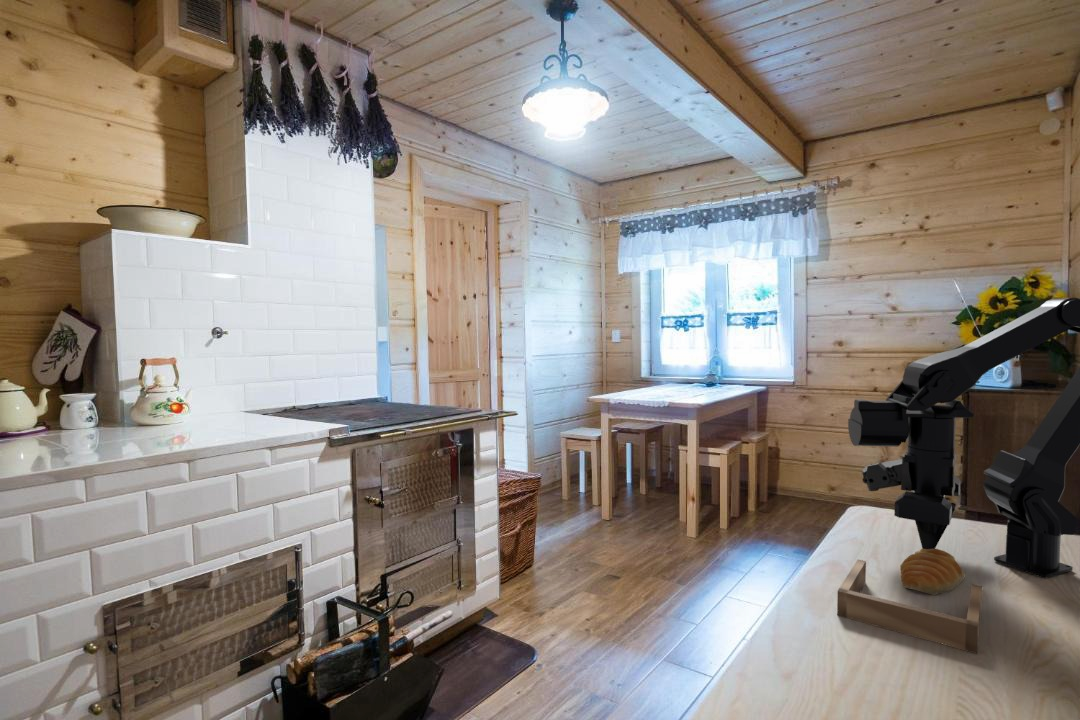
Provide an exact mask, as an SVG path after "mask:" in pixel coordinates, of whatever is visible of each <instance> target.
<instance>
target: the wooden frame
mask: <svg viewBox="0 0 1080 720" xmlns="http://www.w3.org/2000/svg"><path fill="white" fill-rule="evenodd" d="M866 571H867V561H866V560H863V559H856V561H855V563H854V564H853V566H852V568H851V569H850V570H849V572H848V574H847V575H846V577H845V578H844V580H843V582H842V583H841V585H840V586H839V588H838V590H837V599H836V602H837V603H836V604H837V608H836V609H837V612H836V613H837V616H840V617H843V618H847V619H850V620H853V621H859V622H861V623H865V624H868V625H873V626H876V627H879V628H882V627H883V629H886V628H887V630H890V631H893V630H894V632H897V631H898V633H901V634H904V635H908V636H912V637H915V638H919V639H923V640H926V641H929V640H930V642H933V641H934V643H937V642H938V643H937V644H940V643H943V644H942V645H944V644H946V645H945V646H947V645H949V646H948V647H951V646H952V648H955V649H959V650H962V651H966V652H969V653H973V654H978V645H979V636H980V627H981V620H982V611H983V609H982V608H983V607H982V606H983V586H982V585H979V584H978V585H977V584H974V583H973V584H971V590H970V596H969V602H968V607H967V615H966V618H961V617H958V616H955V615H954V616H953V615H951V614H945V613H941V612H938V611H933V610H929V609H926V608H922V607H917V606H914V605H909V604H906V603H903V602H902V603H901V602H898V601H894V600H890V599H885V598H881V597H878V596H874V595H869V594H865V593H862V590H863V588H864V586H865V585H866V580H867V578H866V577H867V573H866Z"/></svg>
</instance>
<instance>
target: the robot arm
mask: <svg viewBox="0 0 1080 720" xmlns="http://www.w3.org/2000/svg"><path fill="white" fill-rule="evenodd" d="M1067 331H1070V332H1073V333H1076V334H1080V298H1079V297H1065V298H1064V297H1062V298H1051V299H1049V300H1046V301H1045V302H1044V303H1042V304H1041V305H1040V306H1039V307H1037V308H1035V309H1033V310H1031V311H1029V312H1027V313H1025V314H1023V315H1021V316H1019V317H1018V318H1016V319H1014V320H1012V321H1010V322H1008V323H1006V324H1003V325H1002V326H1000V327H998V328H997V329H994V330H993V331H991V332H989V333H987V334H984V335H983V336H981V337H979V338H977V339H976V340H973V341H971V342H969V343H968V344H965V345H964V346H961V347H957V348H955V349H950V350H946V351H943V352H938V353H934V354H932V355H929V356H925V357H922V358H920V359H917V360H914V361H912V362H911V363H909V364H908V365H907V366H906V367H905V368H904V373H903V375H902V380H901V381H900V382H899V383H898V384H897V386H896V387H895V388H894V389H893V391H891V393H889V395H888V396H887V397H886V399H885V400H868V399H862V398H861V399H855V400H854V401H853V404H854V405H853V408H852V409H851V412H850V415H849V418H848V421H847V428H848V436H849V438H850V439H849V440H850V442H851V444H852V445H853V446H854V447H895V448H896V447H900V446H901V444H902V443H906V452H905V453H904V454H902V458H901V459H895V460H890V461H885V462H880V461H878V462H877V463H874V464H872V463H869V464H868V465H866V466H865V467H863V468H862V470H861V474H862V476H863V477H862V482H863V483H864V484H866V486H867V489H868V491H869V492H877V491H879V490H880V489H881V490H882V489H887V488H893V487H897V486H900V490H901V491H904V492H903V493H902V494H900V495H899V496H898V497H897V498H896V499H895V501H894V516H895V517H897V518H900V519H906V520H911V521H914V522H915V525H916V530H917V532H918V536H919V541H920V545H921V549H927V550H928V549H937V548H936V547H937V546H938V543H939V541H940V540H941V538H942V537H943V534H944V533H945V531H946V529H947V527H948V526H950V524H951V521H952V518H953V516H954V513H955V511H956V507H957V503H954V502H950V501H949V498H947V497H953V496H954V497H959V496H960V494H961V480H960V478H958V477H957V475H955V463H956V461H957V459H956V458H957V453H956V423H957V422H956V420H957V419H960V418H961V419H962V418H963V419H967V418H968V419H971V418H974V416H975V414H974V412H972V411H971V410H970V409H969V408H967V407H966V406H965V405H964V404H963V402H961V400H959V399H958V398H959V397H960V396H962V395H963V394H965V393H966V392H968V391H969V390H971V388H974V386H975V385H977V383H978V381H979V380H980V379H981V378H982V377H983V376H984V375H985V374H986V373H987V372H989V371H990V370H992V369H994V368H996V367H998V366H1000V365H1002V364H1004V363H1006V362H1008V361H1010V360H1012V359H1014V358H1016V357H1018V356H1019V355H1022V354H1024V353H1026V352H1027V351H1029V350H1032V349H1034V348H1035V347H1038V346H1039V345H1041V344H1044V343H1045V342H1047V341H1049V340H1051V339H1053V338H1055V337H1058V336H1059V335H1061V334H1063V333H1065V332H1067ZM956 418H957V419H956ZM1079 447H1080V366H1079V367H1078V368H1077V370H1076V371H1075V373H1074V374H1073V376H1072V377H1071V379H1070V380H1069V381H1068V382H1067V384H1066V386H1065V388H1064V389H1063V390H1062V391H1061V393H1060V395H1059V396H1058V397H1057V399H1056V400H1055V402H1054V403H1053V405H1052V406H1051V407H1050V409H1049V411H1048V412H1047V414H1046V415H1045V417H1043V419H1042V420H1041V422H1040V423H1039V425H1038V427H1037V428H1036V429H1035V431H1034V432H1033V434H1032V436H1030V438H1029V439H1028V440H1027V442H1026V444H1025V445H1024V446H1023V447H1021V448H1020V449H1018V450H1017V451H1015V452H1013V453H1010V452H1008V451H1005V450H999V452H998V453H997V454H996V455H995V458H994V460H993V462H992V464H991V465H990V466H989V467H988V468H986V469H985V470H984V471H983V474H984V475H986V477H985V479H984V481H983V486H982V487H983V489H984V491H985V494H986V496H987V497H988V499H989V500H990V501H992V502H993V503H994V504H995V508H996V511H997V512H998V513H999V514H1000V515H1004V516H1005V517H1006V518H1007V523H1006V535H1005V553H1004V554H1001V555H997V556H994V558H993V561H995V562H996V563H1001V564H1003V565H1005V566H1009V567H1012V568H1013V569H1018V570H1020V571H1023V572H1026V573H1029V574H1031V575H1034V576H1038V577H1040V578H1045V579H1047V578H1051V577H1054V576H1057V575H1061V574H1064V573H1069V572H1072V571H1073V568H1074V567H1073V566H1071V565H1068V564H1066V563H1063V562H1061V539H1062V538H1061V536H1063V535H1067V536H1069V535H1070V536H1072V535H1074V534H1075V533H1076V530H1077V528H1078V526H1079V523H1080V520H1079V518H1077V517H1076V516H1075V515H1074V514H1073V513H1072V512H1071V511H1069V510H1068V509H1067V508H1066V507H1065V506H1064V505H1063V504H1062V503H1060V499H1061V497H1062V495H1063V493H1064V491H1065V487H1066V466H1067V464H1068V463H1069V461H1070V459H1071V458H1072V457H1073V456H1074V454H1075V453H1076V452H1077V450H1078V449H1079ZM945 496H947V497H945Z"/></svg>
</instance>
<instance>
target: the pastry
mask: <svg viewBox="0 0 1080 720" xmlns="http://www.w3.org/2000/svg"><path fill="white" fill-rule="evenodd" d="M965 576H966V573H965V571H964V570H963V569H962V567H961V565H960V564H959V563H958V561H957V560H956V558H955V556H953V555H952V554H950V552H949V553H948V552H946V551H945V550H941V549H939V548H935V549H928V550H927V549H922V548H921V549H920V550H918V551H915V552H914V553H913V554H910V555H908V556H907V557H906V558H904V559H903V561H902V563H901V564H900V580H901V585H903V587H904V588H905V589H911V590H914V591H918V592H922V593H926V594H929V595H933V596H935V595H936V594H937V595H938V594H943V593H950V592H952V590H954V589H955V588H956V587H958V586H959V585H960V584H961V582H963V579H965Z"/></svg>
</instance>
